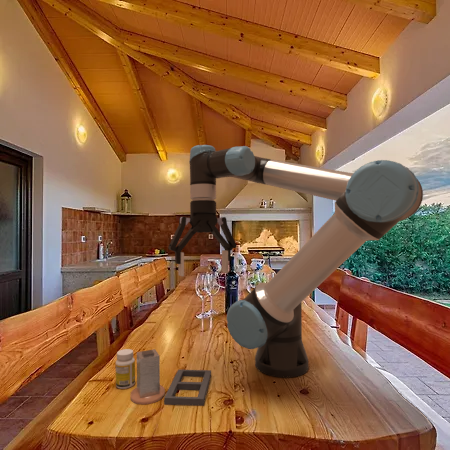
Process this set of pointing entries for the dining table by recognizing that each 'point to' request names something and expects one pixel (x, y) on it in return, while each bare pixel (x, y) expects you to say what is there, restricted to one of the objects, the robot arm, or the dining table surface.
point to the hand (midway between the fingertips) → (203, 274)
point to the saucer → (146, 400)
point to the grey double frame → (188, 388)
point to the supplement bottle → (125, 369)
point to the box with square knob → (148, 373)
